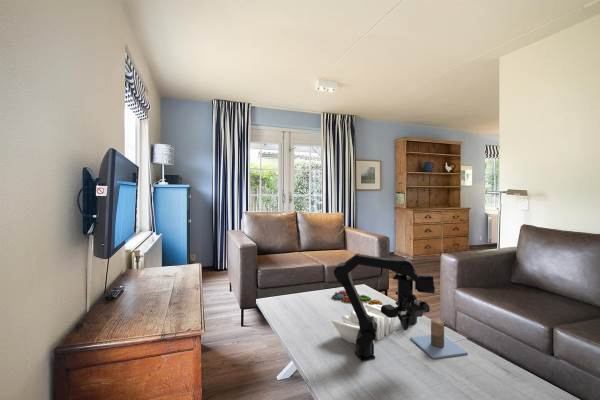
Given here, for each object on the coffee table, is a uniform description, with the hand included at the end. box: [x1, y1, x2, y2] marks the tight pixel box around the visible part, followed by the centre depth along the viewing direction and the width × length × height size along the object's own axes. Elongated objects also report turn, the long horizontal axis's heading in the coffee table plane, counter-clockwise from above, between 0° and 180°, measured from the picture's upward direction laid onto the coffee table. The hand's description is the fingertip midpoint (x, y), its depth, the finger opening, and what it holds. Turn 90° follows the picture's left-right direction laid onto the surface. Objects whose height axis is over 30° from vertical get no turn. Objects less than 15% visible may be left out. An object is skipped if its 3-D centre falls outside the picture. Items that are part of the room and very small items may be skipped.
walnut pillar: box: [430, 318, 445, 348], centre depth 122 cm, size 5×5×10 cm
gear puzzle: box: [331, 289, 383, 305], centre depth 175 cm, size 31×16×4 cm, turn 52°
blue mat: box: [410, 334, 469, 360], centre depth 122 cm, size 16×16×1 cm
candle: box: [409, 281, 418, 326], centre depth 145 cm, size 5×5×25 cm
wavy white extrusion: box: [331, 303, 396, 345], centre depth 134 cm, size 35×16×11 cm, turn 128°
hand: (405, 330), depth 110 cm, fingers closed
